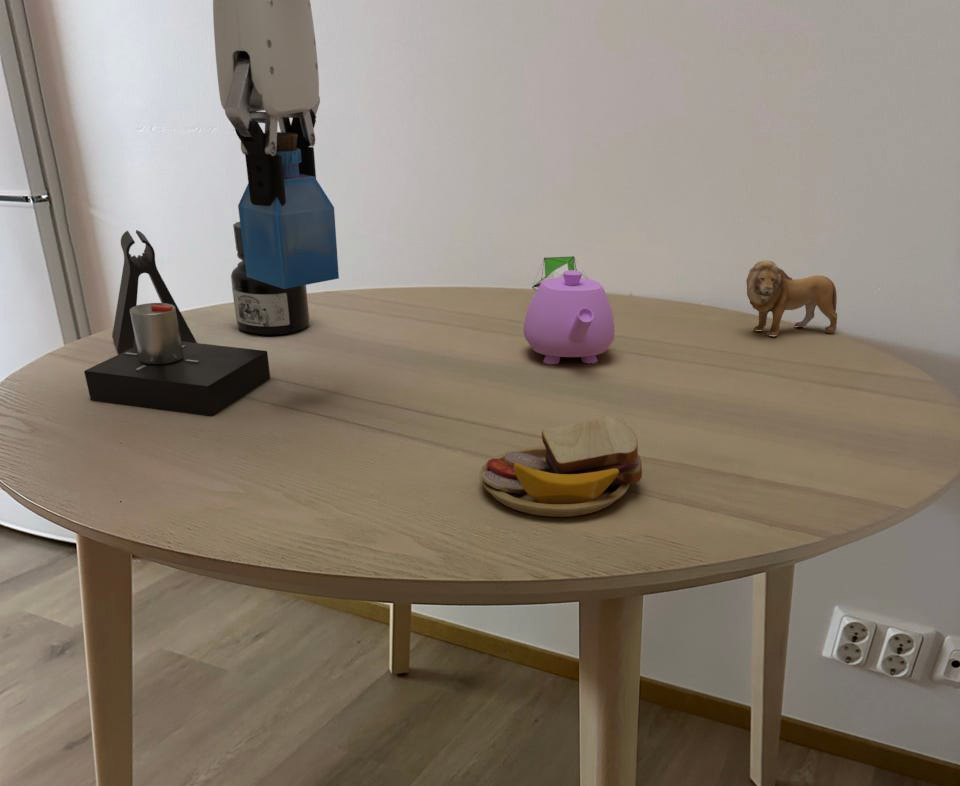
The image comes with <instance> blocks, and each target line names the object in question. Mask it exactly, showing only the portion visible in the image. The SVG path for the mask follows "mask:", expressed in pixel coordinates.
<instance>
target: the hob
mask: <svg viewBox="0 0 960 786" xmlns="http://www.w3.org/2000/svg"><path fill="white" fill-rule="evenodd" d="M181 344H182V350H183V358H182V359H181V360H179V361H176V362H173V363H168V364H146V363H143V362H141V361H140V360H139V356H138V351H137V346H136V347H133V348H131V349H129V350H127V351H125V352H123V353H121V354H119V353H118V354H117V355H115V356H112V357H110V358H108V359H106V360H104V361H102V362H100V363H98V364H96V365H94V366H92V367H89V368H87V369H85V370H84V372H83V373H84V377H85V380H86V386H87V390H88V394H89V398H90V400H91V401H95V402H96V401H97V402H104V403H111V404H118V405H119V404H120V405H127V406H135V407H141V408H150V409H156V410H164V411H172V412H178V413H185V414H186V413H187V414H195V415H201V416H210V417H213V416H215V415H217V414H218V413H219V412H221V411H223V410H225V408H227V407H229V406H230V405H232V404H233V403H235V402H237V401H238V400H240V399H241V398H243V397H244V396H246V395H247V394H249V393H250V392H252V391H253V390H256V388H258V387H259V386H261V385H262V384H264V383H266V382H268V381H269V380H270V379H271V371H270V364H269V363H270V362H269V354H268V351H267V350H262V349H254V348H245V347H243V348H242V347H235V346H226V345H219V344H208V343H199V342H197V343H192V342H183V341H181Z"/></svg>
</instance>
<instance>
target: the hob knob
mask: <svg viewBox="0 0 960 786" xmlns="http://www.w3.org/2000/svg"><path fill="white" fill-rule="evenodd" d="M130 315H131V320H132V325H133V330H134V335H135V340H136V346H137V351H138V356H139V360H140V361H141V362H143V363H146V364H168V363H173V362H176V361H179V360H181V359H182V358H183V350H182V344H181V339H180V333H179V327H178V321H177V315H176V309H175V306H174V305H171V304H167V303H161V302H149V303H142V304H141V303H140V304H137V306H134V307H132V308H131V309H130Z"/></svg>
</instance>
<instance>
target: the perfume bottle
mask: <svg viewBox="0 0 960 786" xmlns="http://www.w3.org/2000/svg"><path fill="white" fill-rule="evenodd" d="M264 134H265V132H264ZM297 135H298V134H296V133H289V132H281V131H277V149H276V154H275V155H281V156H282V166H283V177H284V187H285V197H286V203H285V204H284V205H283V206H281V204H280V202H279V200H278V198H277V197H276V199H275V200H274V202H273V203H272V204H271V206H260V205H253V204H252V203H251V200H250V192H249V184H248V183H247V185H246V187H245V189H244V192H243V194H242V196H241V198H240V200H239V202H238V205H237V207H238V208H237V209H238V216H239V217H238V218H239V222H240V226H241V234H242V242H243V251H244V259H245V267H246V275H247V277H249V278H252V279H255V280H258V281H261V282H264V283H267V284H270V285H273V286H276V287H279V288H283V289H287V288H292V287H297V286H303V285H306V286H309V285H312V284H317V283H324V282H329V281H333V280H338V279H340V274H339V259H338V246H337V245H338V243H337V232H336V231H337V230H336V229H337V228H336V217H335V216H336V215H335V207H334V205H333V203H332V201H331V200H330V199H329V197H328V195H327V193H325V191H324V189H323V187H322V186H321V185H320V183H319V181H318V179H317V177H316V178H315V177H313V176H308V175H303V174H299V165H298V163H300V162H301V150H300V149H297V148H296V144H297Z"/></svg>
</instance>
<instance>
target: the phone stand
mask: <svg viewBox="0 0 960 786" xmlns="http://www.w3.org/2000/svg"><path fill="white" fill-rule="evenodd" d="M135 234H136V235H137V237H138V239H139V240H140V241H141V243H143V244H145V246H144V250H143V252H142V254H141V255H140V254H138V255H137V256H136V255H135V254H133V256H132V255H131V253H130V249H131V248H132V246H133V245H134V244H136V242H135V239H134V238H133V236H132V235H131V233H130V231H129V230H126V231H124V232H123V233H122V235H121V237H120V248H121V249H122V254H123V265H122V266H123V267H122V272H121V279H120V284H119V291H118V297H117V303H116V309H115V315H114V322H113V329H112V335H111V337H112V341H113V343H114V346H115V349H116V352H117V353H118V355H119V354H121V353H123V352H125V351H127V350H129V349H131V348H133V347H136V340H135V335H134V330H133V325H132V320H131V315H130V309H131V308H132V307H134V306H137V305H138V304H137V303H138V293H139V292H138V289H139V278H140V276H141V275H143V274H147V275H148V276H149V278H150V280H151V283H152V285H153V287H154V290H155V292H156V294H157V297H158V299H159V301H160V303H167V304H171V305H174V306H175V309H176V315H177V321H178V327H179V333H180V339H181V341H183V342H192V343H198V342H197V340H196V338H195V336H194V334H193V333H192V330H191V328H190V327H189V326H188V325H189V324H188V323H187V321H186V320H185V318H184V316H183V314H182V312H181V310H180V308H179V307H178V305H177V303H176V301H175V300H174V297H173V295H172V294H171V292H170V290H169V289H168V287H167V285H166V283H165V281H164V279H163V277H162V276H161V274H160V272H159V269H158V267H157V263H156V252H155V249H154V247H153V245H152V244H151V243H150V241H149V240H148V238H147V237H146V235H145V234H144V233H142V232H141V231H140V230H138V229H136V230H135Z"/></svg>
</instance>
